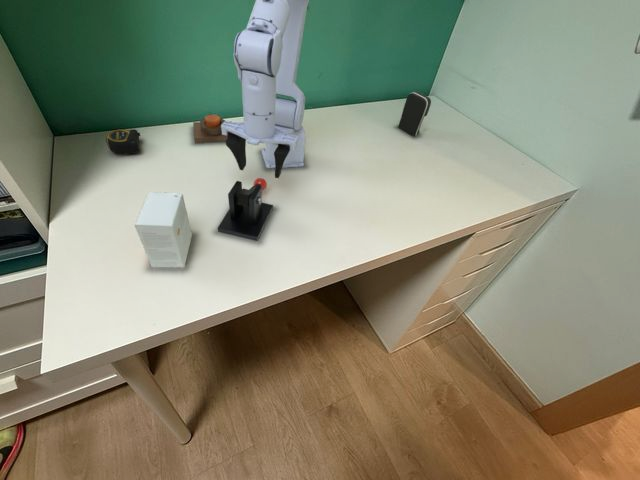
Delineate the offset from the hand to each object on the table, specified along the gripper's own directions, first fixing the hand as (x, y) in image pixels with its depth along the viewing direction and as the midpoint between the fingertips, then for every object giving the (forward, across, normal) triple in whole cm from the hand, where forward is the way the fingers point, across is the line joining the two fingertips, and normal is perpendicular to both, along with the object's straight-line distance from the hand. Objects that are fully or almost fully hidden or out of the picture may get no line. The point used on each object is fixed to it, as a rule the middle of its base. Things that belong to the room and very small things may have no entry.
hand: (260, 171), depth 68 cm
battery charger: (+7, +33, +46) cm, 57 cm away
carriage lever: (+3, 0, -5) cm, 6 cm away
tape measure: (+6, -35, +6) cm, 36 cm away
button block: (+6, -20, +20) cm, 28 cm away
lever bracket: (+6, 0, -9) cm, 11 cm away
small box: (+6, -10, -21) cm, 24 cm away
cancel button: (+3, -19, +20) cm, 28 cm away
